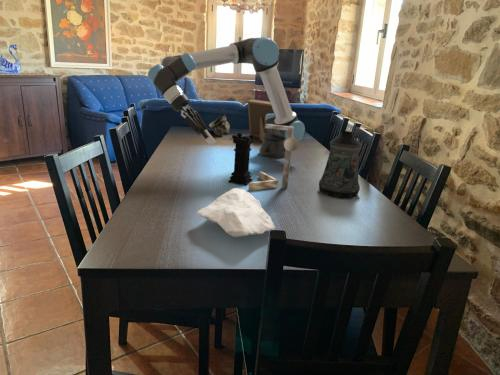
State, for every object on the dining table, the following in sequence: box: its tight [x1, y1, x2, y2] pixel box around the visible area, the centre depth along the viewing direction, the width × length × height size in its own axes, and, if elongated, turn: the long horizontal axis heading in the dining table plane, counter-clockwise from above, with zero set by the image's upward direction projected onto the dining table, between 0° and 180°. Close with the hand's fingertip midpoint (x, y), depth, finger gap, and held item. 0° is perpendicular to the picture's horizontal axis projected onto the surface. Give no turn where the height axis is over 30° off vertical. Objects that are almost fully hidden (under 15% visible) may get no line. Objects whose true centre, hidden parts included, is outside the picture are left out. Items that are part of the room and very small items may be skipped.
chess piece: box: [228, 132, 256, 187], centre depth 154 cm, size 8×8×20 cm
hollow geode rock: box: [208, 114, 231, 137], centre depth 254 cm, size 28×13×15 cm
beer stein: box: [318, 130, 362, 200], centre depth 150 cm, size 16×19×25 cm
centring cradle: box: [248, 124, 299, 192], centre depth 152 cm, size 19×17×26 cm
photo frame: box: [247, 98, 275, 142], centre depth 246 cm, size 15×22×25 cm
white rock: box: [196, 187, 276, 238], centre depth 114 cm, size 24×35×9 cm
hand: (213, 143), depth 154 cm, fingers closed
